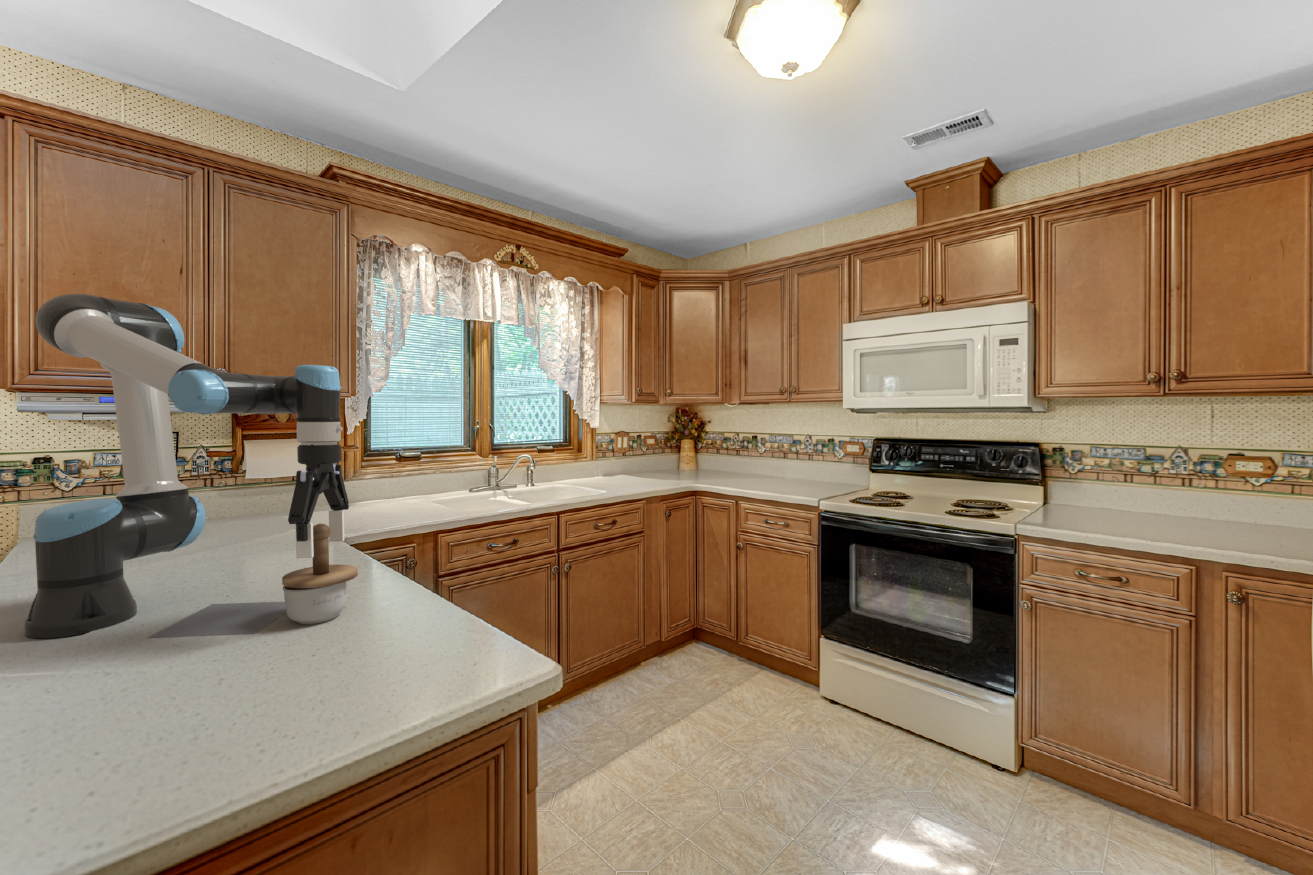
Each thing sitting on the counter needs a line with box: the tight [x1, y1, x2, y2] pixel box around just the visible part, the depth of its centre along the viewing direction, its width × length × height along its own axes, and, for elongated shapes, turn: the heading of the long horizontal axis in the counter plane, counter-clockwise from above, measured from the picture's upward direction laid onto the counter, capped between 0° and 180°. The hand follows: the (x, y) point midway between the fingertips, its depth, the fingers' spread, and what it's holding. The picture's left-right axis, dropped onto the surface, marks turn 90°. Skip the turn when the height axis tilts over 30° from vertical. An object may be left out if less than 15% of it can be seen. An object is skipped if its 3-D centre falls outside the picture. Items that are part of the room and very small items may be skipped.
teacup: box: [282, 581, 348, 625], centre depth 113 cm, size 14×11×8 cm
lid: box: [281, 523, 359, 588], centre depth 112 cm, size 13×13×11 cm
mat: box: [146, 601, 287, 639], centre depth 111 cm, size 18×18×1 cm
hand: (321, 549), depth 112 cm, fingers open, 13 cm apart
